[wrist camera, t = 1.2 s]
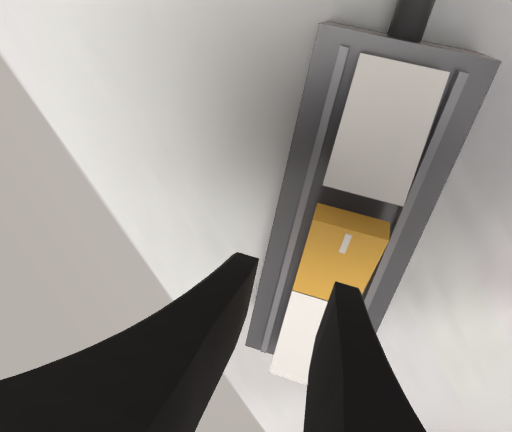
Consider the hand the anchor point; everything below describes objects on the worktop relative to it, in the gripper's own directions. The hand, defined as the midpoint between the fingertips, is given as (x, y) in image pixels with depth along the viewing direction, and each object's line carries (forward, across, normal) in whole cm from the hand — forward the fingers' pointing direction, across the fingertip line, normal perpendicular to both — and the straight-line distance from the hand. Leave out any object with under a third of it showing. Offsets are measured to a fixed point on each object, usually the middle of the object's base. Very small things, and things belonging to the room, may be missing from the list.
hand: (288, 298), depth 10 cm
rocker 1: (+6, -2, +7) cm, 9 cm away
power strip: (+10, -1, -1) cm, 10 cm away
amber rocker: (+6, -2, +2) cm, 7 cm away
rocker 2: (+6, -2, -3) cm, 7 cm away
